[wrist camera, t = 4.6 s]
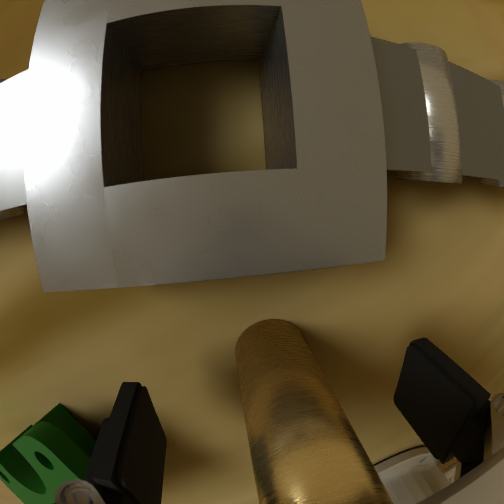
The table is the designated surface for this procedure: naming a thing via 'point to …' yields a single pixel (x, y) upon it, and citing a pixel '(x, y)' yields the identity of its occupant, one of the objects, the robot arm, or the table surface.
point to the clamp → (46, 457)
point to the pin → (299, 424)
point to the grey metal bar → (240, 182)
